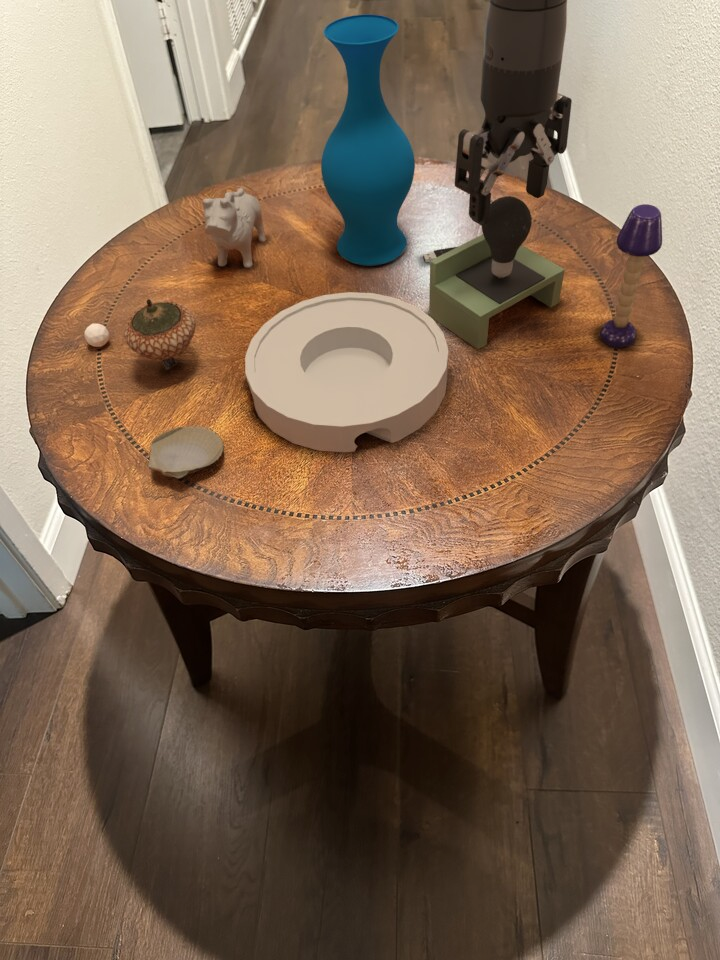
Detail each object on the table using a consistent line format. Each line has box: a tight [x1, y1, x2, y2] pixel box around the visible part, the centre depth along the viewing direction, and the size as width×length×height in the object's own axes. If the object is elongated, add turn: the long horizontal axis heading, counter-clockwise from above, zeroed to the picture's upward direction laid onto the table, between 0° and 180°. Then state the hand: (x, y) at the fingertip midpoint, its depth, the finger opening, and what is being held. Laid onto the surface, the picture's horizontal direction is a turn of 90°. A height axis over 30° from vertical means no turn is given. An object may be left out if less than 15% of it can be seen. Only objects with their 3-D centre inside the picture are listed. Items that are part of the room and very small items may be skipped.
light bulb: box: [481, 195, 533, 278], centre depth 86 cm, size 6×6×10 cm
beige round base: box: [244, 291, 449, 453], centre depth 86 cm, size 23×23×4 cm
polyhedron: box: [83, 322, 110, 348], centre depth 93 cm, size 3×3×3 cm
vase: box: [320, 14, 416, 267], centre depth 94 cm, size 12×13×28 cm
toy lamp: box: [599, 203, 663, 348], centre depth 83 cm, size 5×5×17 cm
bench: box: [428, 233, 566, 351], centre depth 92 cm, size 14×9×8 cm, turn 127°
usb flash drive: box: [422, 245, 460, 264], centre depth 102 cm, size 8×2×1 cm, turn 102°
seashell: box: [147, 425, 225, 479], centre depth 80 cm, size 8×3×8 cm
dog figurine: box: [202, 187, 267, 269], centre depth 102 cm, size 5×13×11 cm, turn 169°
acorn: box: [123, 298, 197, 370], centre depth 87 cm, size 8×8×10 cm
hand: (507, 208), depth 84 cm, fingers open, 8 cm apart
